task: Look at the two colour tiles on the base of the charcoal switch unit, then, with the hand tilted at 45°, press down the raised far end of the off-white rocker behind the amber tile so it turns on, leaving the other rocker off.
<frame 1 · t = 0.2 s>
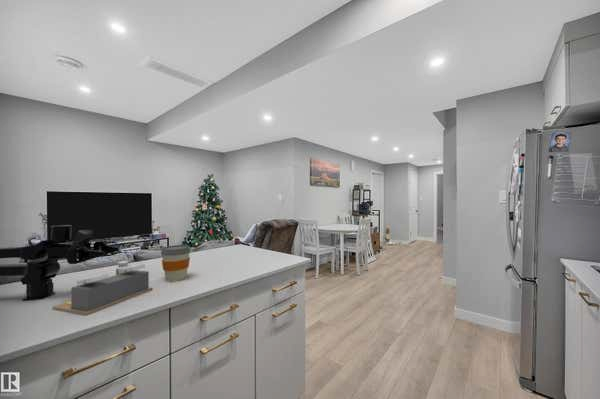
hand: (112, 251, 98), 17 cm above the counter, tool horizontal, fingers open, 9 cm apart
reusable coffee cup: (176, 278, 115), on the counter
supplement bottle: (123, 283, 109), on the counter
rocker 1: (92, 279, 83), point 10 cm above the counter, hinge at -12.0°
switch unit: (113, 299, 90), on the counter
rocker 2: (131, 269, 96), point 10 cm above the counter, hinge at -12.0°
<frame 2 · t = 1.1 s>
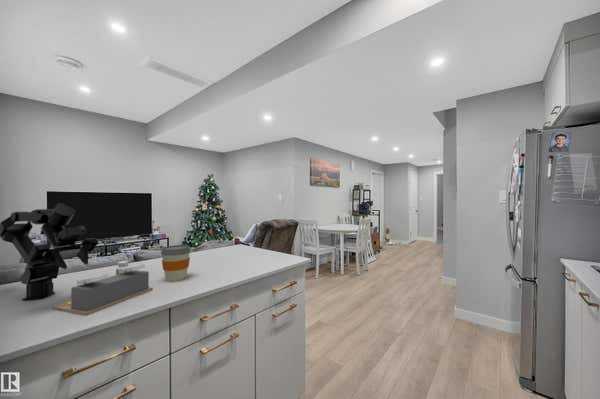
hand: (76, 265, 86), 14 cm above the counter, tool tilted 45°, fingers open, 6 cm apart
nothing on the counter moved.
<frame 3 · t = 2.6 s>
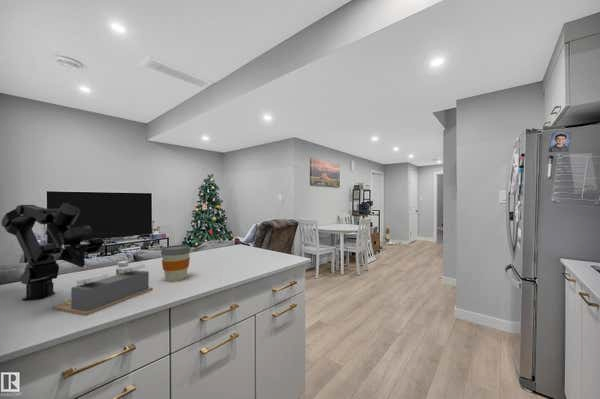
hand: (82, 266, 85), 14 cm above the counter, tool tilted 45°, fingers closed
nothing on the counter moved.
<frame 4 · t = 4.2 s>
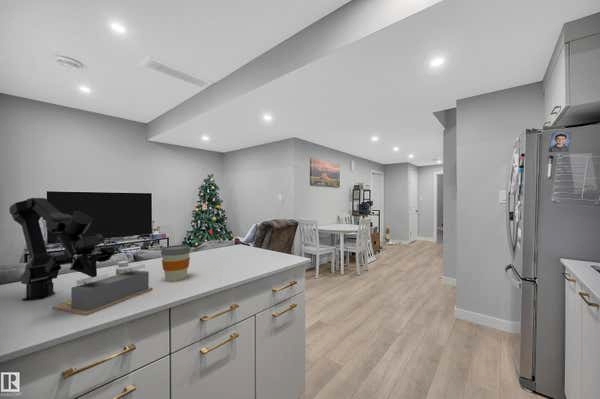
hand: (95, 276, 83), 11 cm above the counter, tool tilted 45°, fingers closed, pressing on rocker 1
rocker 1: (92, 279, 83), point 10 cm above the counter, hinge at -11.8°, touching gripper
everything else where it was.
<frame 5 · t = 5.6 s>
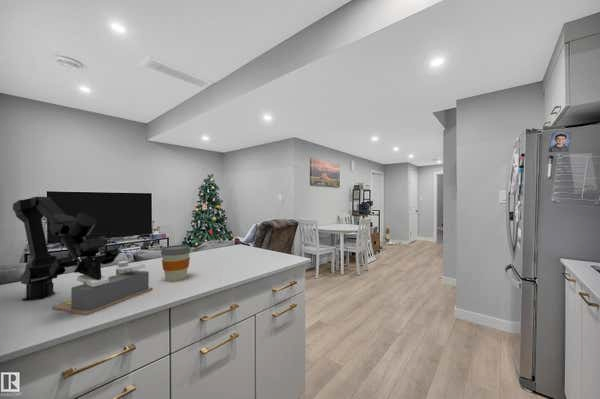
hand: (99, 278, 82), 10 cm above the counter, tool tilted 45°, fingers closed, pressing on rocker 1
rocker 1: (93, 279, 83), point 10 cm above the counter, hinge at 11.9°, touching gripper
everything else where it was.
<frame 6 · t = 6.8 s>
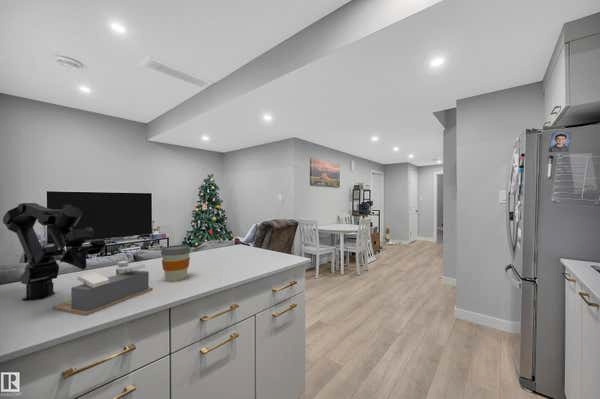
hand: (84, 268, 84), 13 cm above the counter, tool tilted 45°, fingers closed
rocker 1: (93, 279, 83), point 10 cm above the counter, hinge at 15.3°
everything else where it was.
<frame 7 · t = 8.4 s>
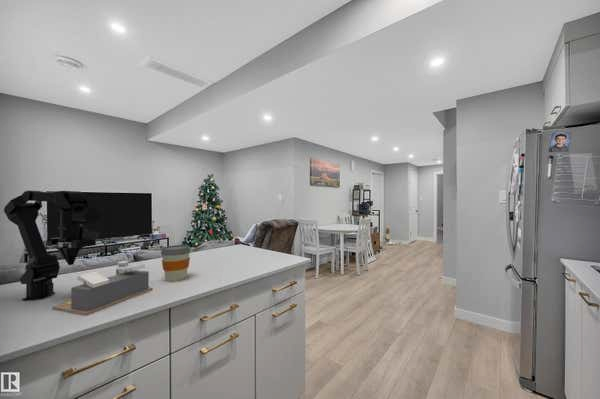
hand: (71, 264, 91), 13 cm above the counter, tool pointing down, fingers closed
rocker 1: (93, 279, 83), point 10 cm above the counter, hinge at 16.8°
everything else where it was.
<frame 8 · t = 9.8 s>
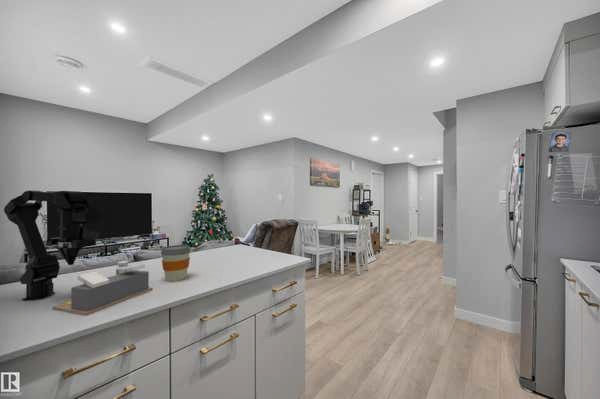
hand: (71, 264, 91), 13 cm above the counter, tool pointing down, fingers closed
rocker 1: (93, 279, 83), point 10 cm above the counter, hinge at 17.3°
everything else where it was.
at the end: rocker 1 at +17° (first picture: -12°); rocker 2 at -12° (first picture: -12°) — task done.
